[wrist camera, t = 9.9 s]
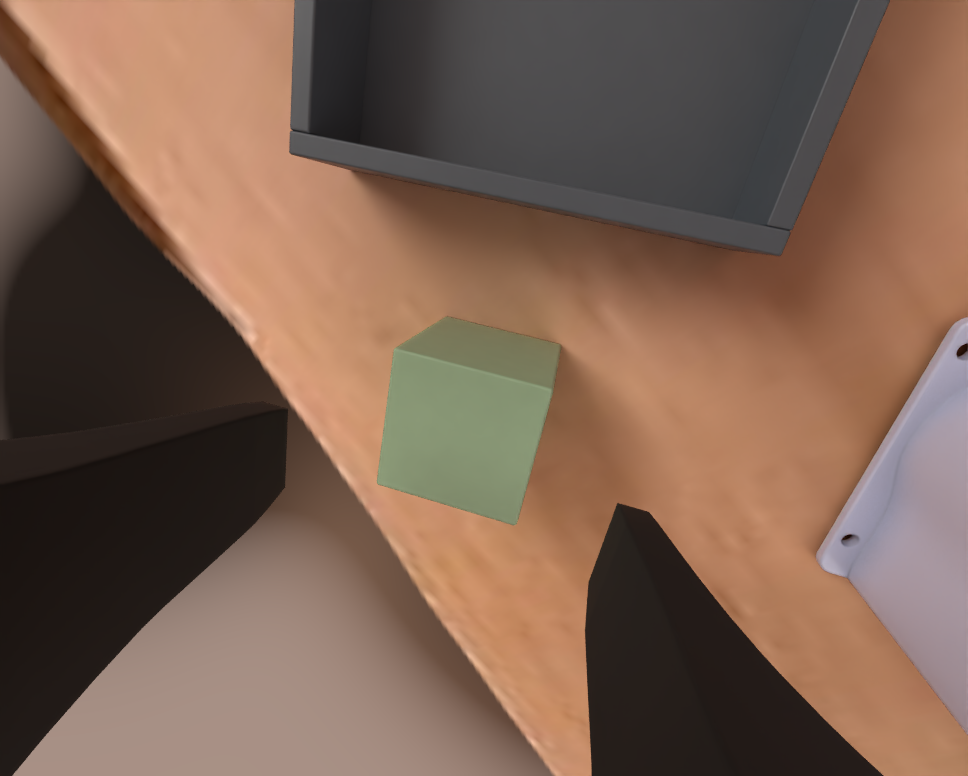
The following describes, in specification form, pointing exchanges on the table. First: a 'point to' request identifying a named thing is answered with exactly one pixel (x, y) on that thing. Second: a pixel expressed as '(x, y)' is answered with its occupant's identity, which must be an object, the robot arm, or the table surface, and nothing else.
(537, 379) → the block
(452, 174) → the tub
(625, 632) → the robot arm
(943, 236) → the table surface
